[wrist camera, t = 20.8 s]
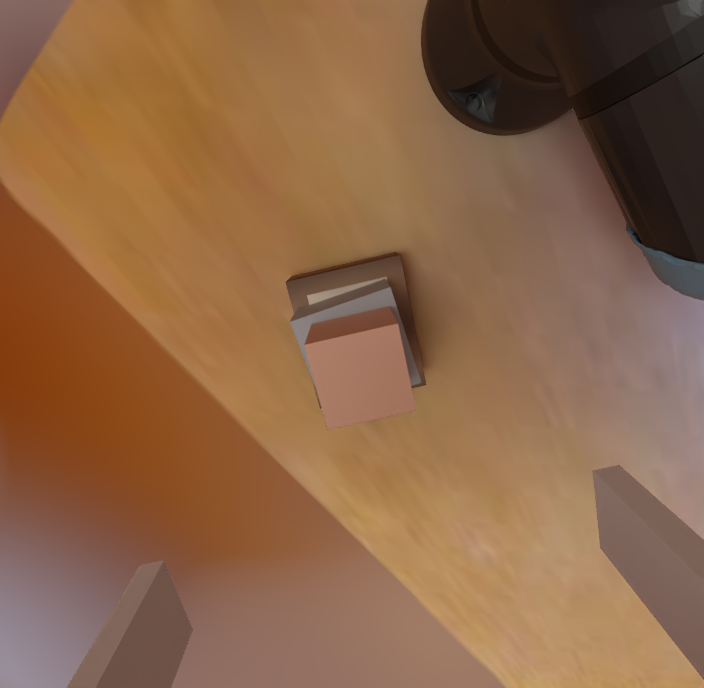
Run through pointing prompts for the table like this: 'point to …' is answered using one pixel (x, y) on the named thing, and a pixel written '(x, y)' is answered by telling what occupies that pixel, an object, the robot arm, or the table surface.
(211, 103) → the table surface
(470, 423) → the table surface
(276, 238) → the table surface
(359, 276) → the plinth
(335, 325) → the terracotta cube
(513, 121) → the robot arm
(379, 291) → the slate block
